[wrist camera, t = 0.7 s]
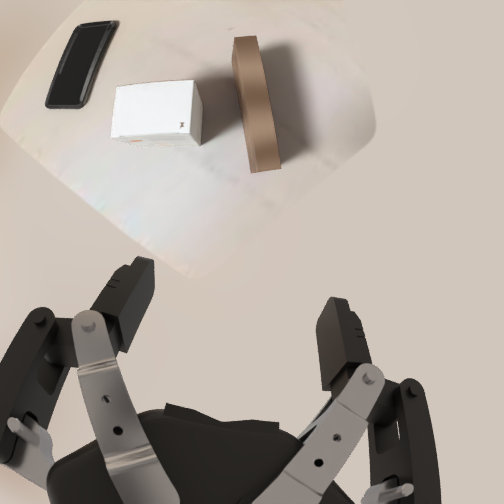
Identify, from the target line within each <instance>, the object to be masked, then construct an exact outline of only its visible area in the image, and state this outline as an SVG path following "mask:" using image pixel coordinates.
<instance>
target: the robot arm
mask: <svg viewBox="0 0 504 504" xmlns="http://www.w3.org/2000/svg"><path fill="white" fill-rule="evenodd" d="M154 288H155V277H154V260H152V259H149V258H144V257H140V256H137V257H136V258H135V260H134V261H133V263H132V264H131V265H130V266H129V265H123V266H122V267H120V268H119V269H117V270H116V271H115V272H114V274H113V275H112V277H111V279H110V280H109V281H108V283H107V284H106V286H105V287H104V289H103V290H102V291H101V293H100V294H99V296H98V298H97V299H96V301H95V302H94V304H93V305H92V307H91V308H90V310H85V311H82V312H80V313H78V314H77V315H76V316H75V317H74V318H55V316H54V314H53V312H52V311H51V310H50V309H49V308H46V307H40V308H36V309H34V310H33V311H31V312H30V313H29V315H28V316H27V318H26V319H25V321H24V322H23V324H22V326H21V327H20V329H19V331H18V332H17V334H16V336H15V337H14V339H13V341H12V342H11V344H10V346H9V348H8V350H7V352H6V353H5V355H4V357H3V359H2V361H1V363H0V464H1V465H3V466H5V467H7V468H9V469H12V470H14V471H15V472H17V473H18V474H20V475H22V476H23V477H24V478H26V479H28V480H29V481H31V482H33V483H34V484H36V485H38V486H40V487H42V488H43V489H45V490H47V493H48V496H49V500H50V503H51V504H355V503H354V502H353V501H352V500H351V499H350V498H349V497H348V496H347V495H346V494H345V492H344V491H343V490H342V489H341V488H340V487H339V486H338V485H337V483H335V481H334V480H333V479H334V478H335V477H336V475H337V474H338V472H339V471H340V469H341V468H342V467H343V465H344V464H345V462H346V461H347V459H348V457H349V456H350V455H351V453H352V451H353V450H354V448H355V447H356V445H357V443H358V442H359V440H360V438H361V437H362V435H363V433H364V432H365V430H366V428H367V427H368V439H369V456H370V480H371V481H370V484H371V487H370V488H369V489H368V490H367V491H366V492H365V494H364V497H363V498H362V499H361V504H441V489H440V477H439V468H438V460H437V453H436V447H435V440H434V434H433V429H432V424H431V419H430V414H429V409H428V405H427V401H426V397H425V392H424V389H423V387H422V385H421V384H420V383H419V382H418V381H416V380H415V379H412V378H407V379H405V380H404V381H402V382H401V383H400V384H399V383H396V382H392V381H390V380H387V379H385V378H384V375H383V373H382V372H381V370H380V369H379V368H378V367H376V366H375V365H373V364H372V361H371V357H370V353H369V349H368V346H367V341H366V338H365V334H364V331H363V327H362V324H361V320H360V319H359V318H358V316H357V315H356V313H355V312H353V311H350V308H349V304H348V301H347V300H346V299H342V298H336V297H330V298H329V300H328V301H327V303H326V305H325V307H324V309H323V311H322V313H321V315H320V317H319V318H318V321H317V325H316V336H317V345H318V353H319V362H320V371H321V381H322V390H323V391H331V394H332V396H331V397H330V398H329V400H328V401H327V402H326V404H325V405H324V406H323V408H322V409H321V410H320V411H319V413H318V414H317V415H316V417H315V418H314V419H313V420H312V422H311V423H310V424H309V425H308V427H307V428H306V429H305V430H304V431H303V432H302V433H301V434H300V435H299V436H298V437H297V438H296V437H294V436H293V435H291V434H289V433H288V432H285V431H283V430H280V429H279V422H270V421H259V420H243V421H230V422H221V421H218V420H216V419H214V418H211V417H209V416H207V415H205V414H202V413H200V412H198V411H196V410H193V409H189V408H184V407H180V406H176V405H172V404H168V403H166V406H165V409H155V410H149V411H145V412H142V413H139V414H137V413H136V411H135V408H134V406H133V404H132V401H131V399H130V396H129V394H128V391H127V389H126V386H125V383H124V381H123V378H122V375H121V372H120V369H119V367H118V363H117V360H116V357H117V354H118V352H119V351H121V352H124V353H127V352H128V350H129V347H130V345H131V343H132V340H133V338H134V336H135V334H136V331H137V329H138V327H139V325H140V323H141V321H142V318H143V316H144V314H145V312H146V310H147V308H148V306H149V304H150V302H151V299H152V297H153V293H154ZM71 367H76V368H79V370H77V374H78V379H79V382H80V387H81V391H82V395H83V398H84V402H85V405H86V408H87V412H88V415H89V418H90V421H91V424H92V427H93V430H94V433H95V436H96V440H94V441H92V442H90V443H89V444H87V445H85V446H83V447H82V448H80V449H78V450H76V451H75V452H73V453H71V454H69V455H67V456H65V457H63V458H62V459H60V460H58V461H57V462H54V459H53V456H52V446H53V445H52V439H51V436H50V434H49V433H48V432H47V428H48V425H49V422H50V419H51V416H52V414H53V411H54V408H55V405H56V402H57V400H58V397H59V394H60V392H61V389H62V387H63V384H64V382H65V379H66V377H67V375H68V372H69V370H70V368H71ZM397 421H398V427H399V434H400V439H399V436H398V428H397Z"/></svg>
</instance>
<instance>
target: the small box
mask: <svg viewBox="0 0 504 504" xmlns="http://www.w3.org/2000/svg"><path fill="white" fill-rule="evenodd" d="M202 114H203V105H202V101H201V98H200V95H199V92H198V89H197V86H196V83H195V81H194V79H193V80H171V81H158V82H148V83H139V84H130V85H123V86H117V90H116V96H115V104H114V111H113V120H112V131H111V139H114V140H117V141H120V142H124V143H127V144H130V145H134V146H137V147H140V148H150V147H174V146H200V145H201V129H202Z"/></svg>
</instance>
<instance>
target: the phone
mask: <svg viewBox="0 0 504 504" xmlns="http://www.w3.org/2000/svg"><path fill="white" fill-rule="evenodd" d="M115 28H116V24H115V23H114V22H113V21H104V22H93V23H85V24H80V25H78V26H77V27H76V28H75V30H74V31H73V33H72V35H71V37H70V39H69V42H68V44H67V46H66V48H65V50H64V53H63V55H62V57H61V60H60V62H59V64H58V67H57V69H56V72H55V75H54V77H53V80H52V83H51V86H50V89H49V92H48V95H47V98H46V101H45V106H46V107H47V108H49V109H80V108H82V107H83V106H84V105H85V103H86V101H87V98H88V95H89V92H90V89H91V86H92V83H93V80H94V77H95V75H96V72H97V69H98V67H99V64H100V62H101V59H102V57H103V54H104V52H105V50H106V47H107V45H108V43H109V41H110V39H111V37H112V34H113V32H114V30H115Z"/></svg>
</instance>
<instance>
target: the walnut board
mask: <svg viewBox="0 0 504 504" xmlns="http://www.w3.org/2000/svg"><path fill="white" fill-rule="evenodd" d="M232 66H233V71H234V77H235V82H236V88H237V94H238V99H239V105H240V111H241V117H242V122H243V128H244V134H245V140H246V146H247V152H248V158H249V164H250V170H251V173H256V172H262V171H269V170H276V169H281V163H280V157H279V151H278V145H277V139H276V133H275V128H274V122H273V116H272V111H271V105H270V100H269V95H268V90H267V85H266V80H265V75H264V70H263V65H262V60H261V55H260V51H259V46H258V42H257V37H256V36H245V37H234V45H233V54H232Z"/></svg>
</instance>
